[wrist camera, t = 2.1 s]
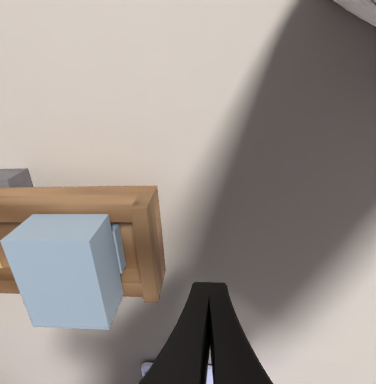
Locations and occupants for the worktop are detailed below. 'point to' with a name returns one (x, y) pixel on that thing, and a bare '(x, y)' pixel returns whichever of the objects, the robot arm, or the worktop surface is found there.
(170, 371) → the robot arm
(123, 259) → the block
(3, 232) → the wooden tray
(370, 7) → the juice carton
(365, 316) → the worktop surface
